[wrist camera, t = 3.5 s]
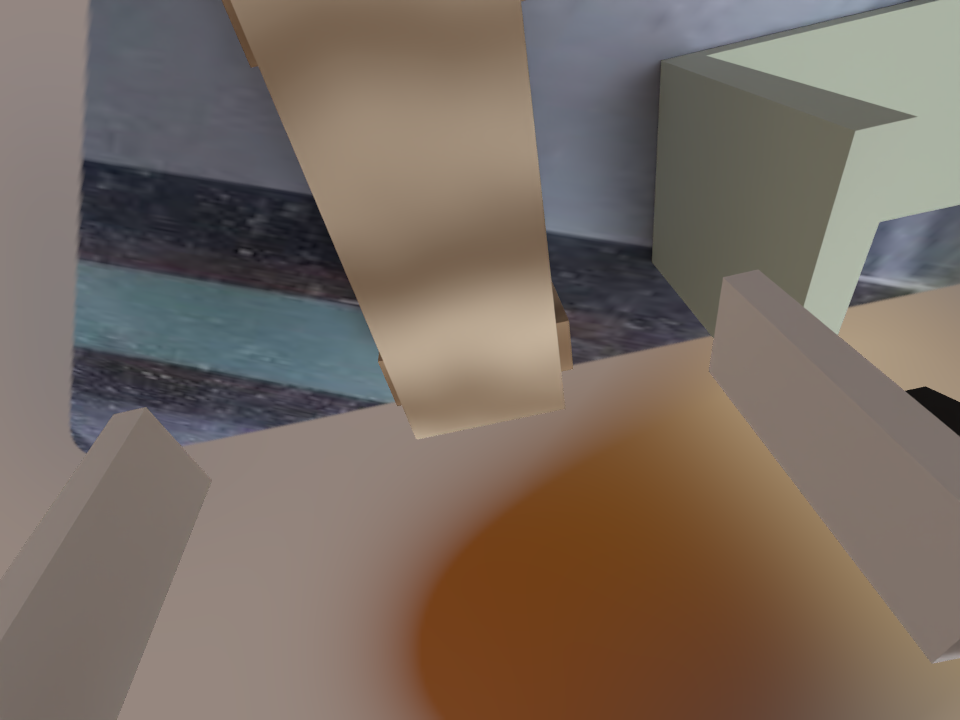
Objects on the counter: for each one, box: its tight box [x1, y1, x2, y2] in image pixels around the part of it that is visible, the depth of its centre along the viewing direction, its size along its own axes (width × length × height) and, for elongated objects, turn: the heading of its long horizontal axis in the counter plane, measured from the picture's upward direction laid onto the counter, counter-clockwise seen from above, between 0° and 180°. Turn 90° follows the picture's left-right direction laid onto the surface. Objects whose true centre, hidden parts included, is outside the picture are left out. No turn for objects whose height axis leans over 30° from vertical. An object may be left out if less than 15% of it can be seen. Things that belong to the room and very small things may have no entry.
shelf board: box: [231, 0, 565, 439], centre depth 17 cm, size 18×7×2 cm, turn 11°
